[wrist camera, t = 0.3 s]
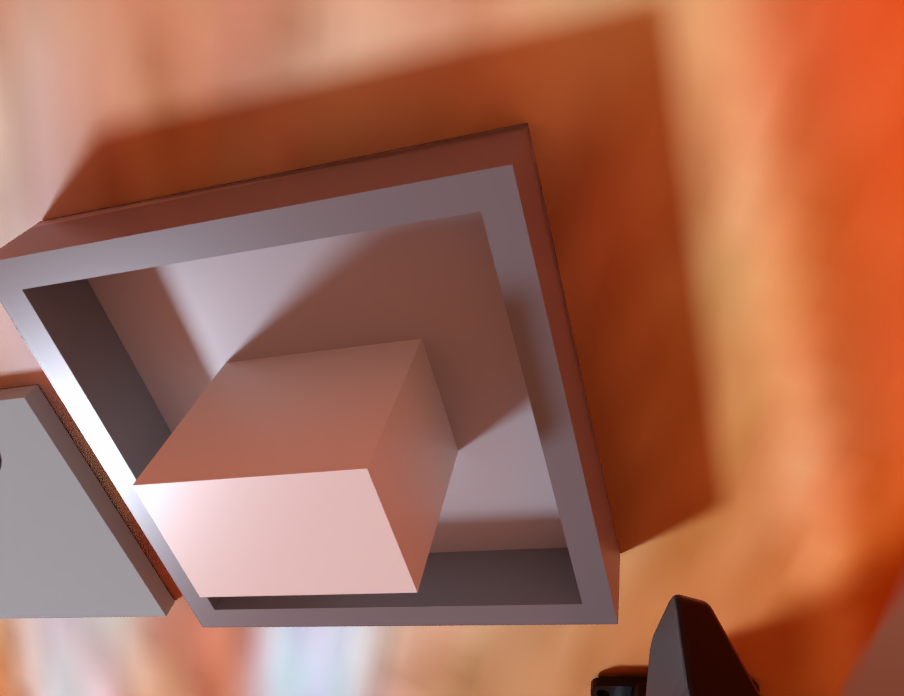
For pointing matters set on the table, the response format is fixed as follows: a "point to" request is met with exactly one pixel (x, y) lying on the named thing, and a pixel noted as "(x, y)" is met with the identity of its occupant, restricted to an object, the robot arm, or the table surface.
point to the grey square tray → (341, 326)
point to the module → (307, 474)
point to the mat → (63, 526)
